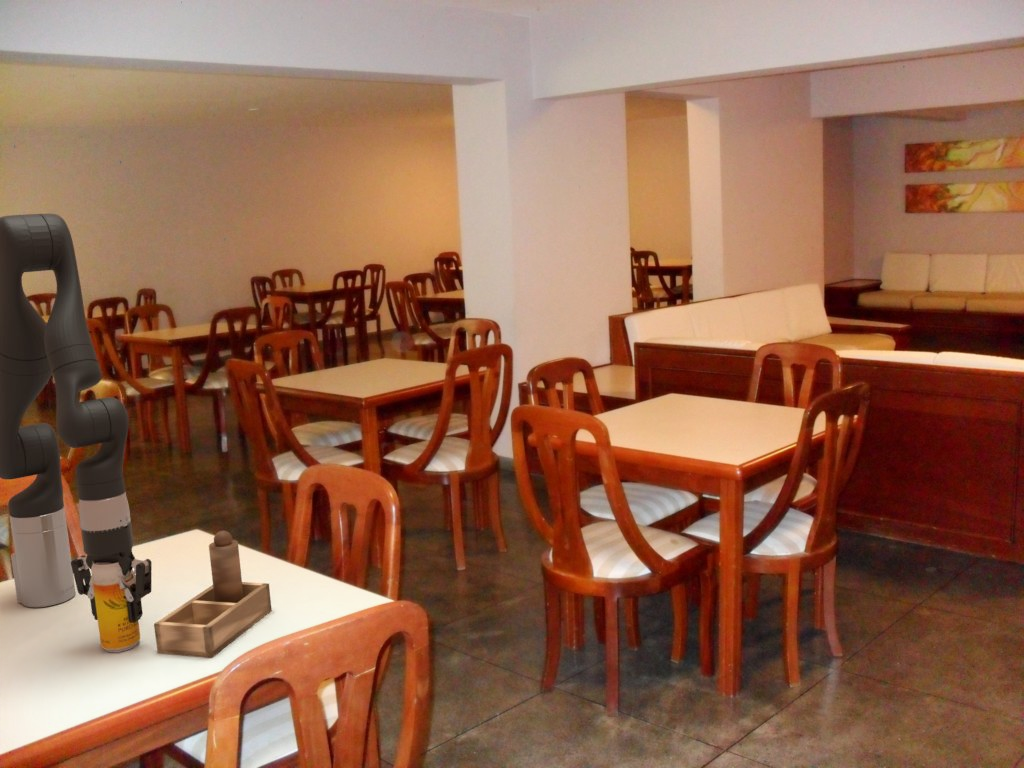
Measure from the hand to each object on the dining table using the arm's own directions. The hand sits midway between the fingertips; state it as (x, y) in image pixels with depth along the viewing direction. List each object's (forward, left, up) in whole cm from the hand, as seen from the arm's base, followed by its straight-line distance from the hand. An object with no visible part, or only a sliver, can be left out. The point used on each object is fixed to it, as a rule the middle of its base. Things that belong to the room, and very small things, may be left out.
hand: (118, 619), depth 163 cm
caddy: (+13, +8, -5) cm, 16 cm away
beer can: (0, 0, -5) cm, 5 cm away
